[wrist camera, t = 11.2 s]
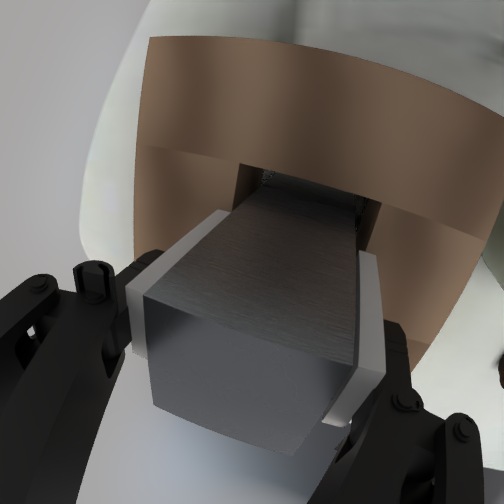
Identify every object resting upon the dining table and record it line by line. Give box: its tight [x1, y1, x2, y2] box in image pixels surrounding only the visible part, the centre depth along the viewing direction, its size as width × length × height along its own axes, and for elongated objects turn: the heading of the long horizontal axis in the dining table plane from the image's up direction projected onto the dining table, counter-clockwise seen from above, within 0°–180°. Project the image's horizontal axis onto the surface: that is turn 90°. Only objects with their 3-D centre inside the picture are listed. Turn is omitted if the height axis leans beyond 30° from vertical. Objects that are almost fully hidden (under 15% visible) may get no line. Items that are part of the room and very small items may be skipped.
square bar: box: [143, 172, 356, 456], centre depth 13 cm, size 4×4×14 cm
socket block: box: [134, 36, 504, 373], centre depth 17 cm, size 18×18×5 cm
